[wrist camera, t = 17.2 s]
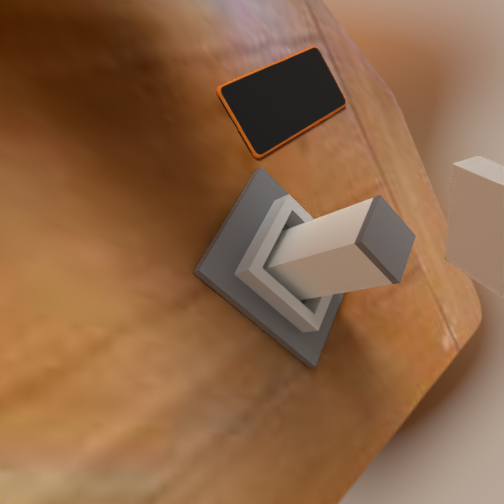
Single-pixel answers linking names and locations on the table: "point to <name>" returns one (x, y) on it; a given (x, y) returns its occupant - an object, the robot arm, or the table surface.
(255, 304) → the dock
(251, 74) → the smartphone
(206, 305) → the table surface
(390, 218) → the block
